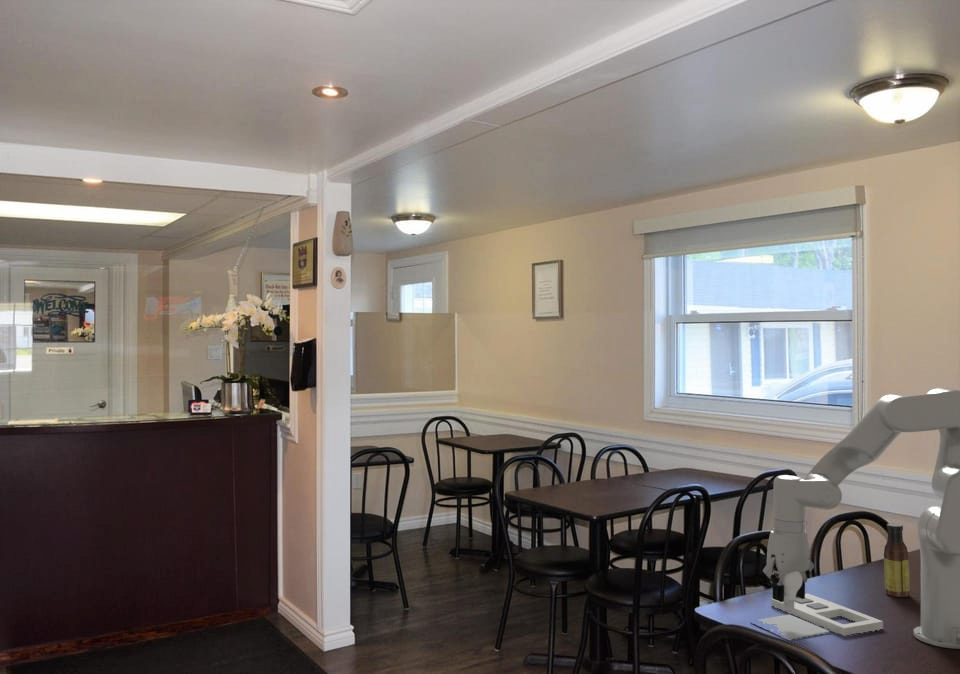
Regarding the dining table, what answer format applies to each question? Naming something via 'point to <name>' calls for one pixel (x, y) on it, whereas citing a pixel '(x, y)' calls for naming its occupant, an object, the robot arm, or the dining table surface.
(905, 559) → the sauce bottle
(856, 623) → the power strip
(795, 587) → the lightbulb
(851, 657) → the dining table surface
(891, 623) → the dining table surface
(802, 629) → the mat
